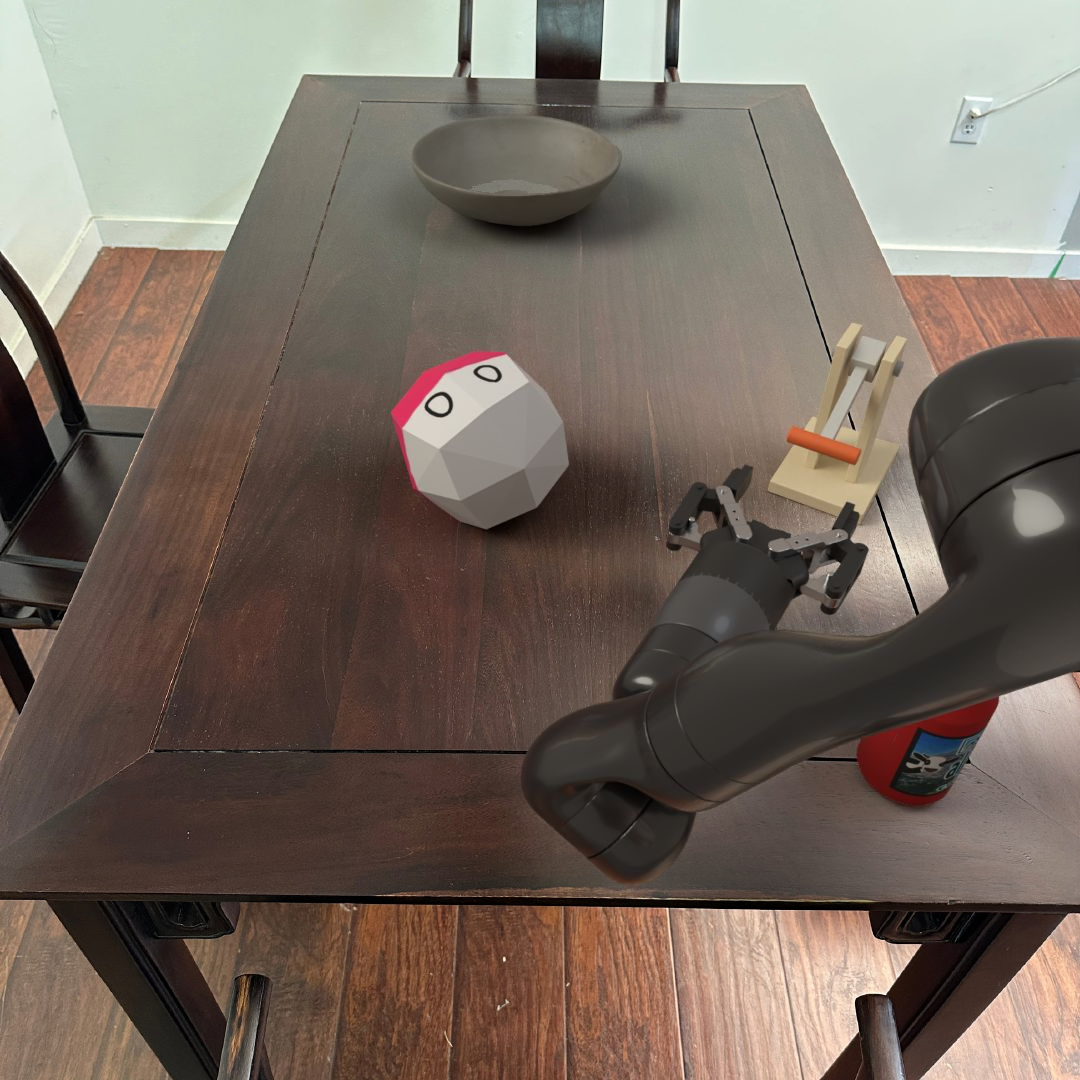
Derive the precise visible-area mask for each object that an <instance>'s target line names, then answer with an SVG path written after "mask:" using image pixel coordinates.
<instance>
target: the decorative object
mask: <svg viewBox="0 0 1080 1080" xmlns="http://www.w3.org/2000/svg"><path fill="white" fill-rule="evenodd" d="M390 414H391V417H392V421H393V425H394V427H395V428H394V429H395V431H396V434H397V438H398V441H399V445H400V449H401V451H402V454H403V459H404V461H405V465H406V469H407V472H408V475H409V478H410V482H411V486H412V489H413V490H414V491H415V492H417V493H418V494H419V495H421V496H422V497H423V498H425V499H426V500H428V501H429V502H431V503H432V504H433V505H435V506H436V507H437V508H439V509H440V510H442V511H443V512H444V513H446V514H448V515H449V516H450V517H451V518H453V519H454V520H456V521H457V522H460V523H463V524H468V525H471V526H474V527H477V528H480V529H484V530H488V529H490V528H492V527H495V526H498V525H500V524H502V523H504V522H507V521H509V520H512V519H514V518H516V517H518V516H521V515H523V514H525V513H528V512H530V511H532V510H536V509H537V508H538V507H539V505H540V504H541V503H542V502H543V500H545V498H546V496H547V495H548V494H549V493H550V491H551V490H552V488H553V487H554V486H555V485H556V483H557V482H558V480H559V479H560V478H561V477H562V475H563V474H564V472H565V471H566V470H567V469H568V468H569V466H570V463H569V461H570V460H569V454H568V448H567V440H566V439H567V438H566V433H565V426H564V421H563V419H562V418H561V415H560V414H559V412H558V410H557V408H556V407H555V405H554V403H553V401H552V399H551V397H550V396H549V394H548V392H547V391H546V389H544V387H543V386H542V385H541V384H539V383H538V382H537V381H536V380H535V379H534V378H533V376H531V375H530V374H529V373H528V372H527V371H526V370H524V368H523V367H522V366H520V365H519V364H518V363H517V362H516V361H515V360H514V359H513V358H512V357H511V356H510V355H509V354H508V353H507V352H506V351H486V350H485V351H483V350H481V351H480V350H475V351H471V352H469V353H467V354H464V355H462V356H459V357H457V358H454V359H451V360H449V361H446V362H444V363H440V364H439V365H436V366H434V367H431V368H429V369H426V370H424V371H423V372H422V373H421V375H419V377H418V378H417V379H416V381H415V382H414V383H413V384H412V386H411V387H410V388H409V389H408V390H407V392H406V393H405V394H404V395H403V397H402V398H401V399H400V400H399V402H398V403H397V404H396V405H395V407H394V408H393V409H392V410H391V411H390Z"/></svg>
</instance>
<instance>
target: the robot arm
mask: <svg viewBox="0 0 1080 1080" xmlns="http://www.w3.org/2000/svg"><path fill="white" fill-rule="evenodd" d="M915 401H916V402H915V403H914V405H913V408H912V410H911V414H910V418H909V421H908V422H909V423H908V427H907V445H908V446H907V448H908V455H909V457H908V458H909V464H910V468H911V472H912V476H913V480H914V483H915V487H916V491H917V494H918V498H919V500H920V505H921V509H922V512H923V514H924V518H925V520H926V524H927V527H928V530H929V533H930V536H931V540H932V542H933V546H934V549H935V552H936V555H937V558H938V562H939V565H940V567H941V571H942V574H943V577H944V579H945V582H946V585H947V587H948V588H947V590H946V591H945V592H944V594H942V595H941V596H940V597H939V598H938V599H937V600H935V601H934V602H933V603H932V604H931V605H929V606H928V607H927V608H925V609H924V610H922V611H921V612H920V613H918V614H917V615H915V616H914V617H912V618H911V619H909V620H908V621H906V622H904V623H903V624H901V625H899V626H897V627H895V628H892V629H890V630H887V631H883V632H880V633H875V634H869V635H867V634H866V635H844V634H843V635H842V634H831V633H821V632H814V631H804V630H791V629H776V628H777V626H778V624H779V623H780V621H781V620H782V618H783V616H784V614H785V612H786V611H787V609H788V607H789V605H790V603H791V602H792V601H793V600H794V599H796V598H798V597H800V596H802V595H804V596H806V597H807V598H810V599H813V600H814V601H817V602H819V603H820V606H819V609H820V611H821V612H822V613H823V614H825V615H827V616H834V615H835V614H836V613H837V612H838V610H839V609H840V607H841V606H842V604H843V602H844V601H845V599H846V598H847V596H848V594H849V593H850V591H851V589H852V588H853V587H854V585H855V583H856V582H857V580H858V578H859V577H860V575H861V573H862V571H863V568H864V565H865V563H866V560H867V557H868V554H869V550H870V549H869V546H868V545H866V544H865V543H862V542H853V541H852V537H853V535H854V533H855V532H856V529H857V526H858V524H857V523H858V520H859V512H856V511H854V508H855V504H853V503H850V502H846V503H845V505H844V507H843V509H842V510H841V512H840V514H839V516H838V517H836V519H835V521H834V523H833V525H832V527H831V529H830V530H827V531H825V532H821V533H817V532H816V531H809V532H806V533H802V534H798V535H795V536H792V533H790V532H787V531H784V530H783V529H777V528H772V527H770V526H768V525H767V524H765V523H764V522H760V521H759V520H757V519H752V520H751V521H749V520H746V518H745V515H744V512H743V510H742V507H741V504H740V503H739V502H740V501H741V499H742V497H743V496H744V495H745V494H746V492H747V491H748V489H749V488H750V485H751V482H752V477H753V473H754V469H755V468H754V466H752V465H749V464H747V463H746V464H744V465H743V466H742V468H739V467H735V468H734V469H732V470H731V472H729V474H728V476H727V477H726V479H725V480H724V482H723V483H722V484H721V485H719V486H716V488H709V487H708V486H707V484H706V483H704V482H701V481H695V482H694V483H693V484H691V486H690V487H689V490H688V491H687V493H686V494H685V496H684V498H683V499H682V500H681V502H680V503H679V505H678V507H677V508H676V509H675V511H674V514H672V517H671V518H670V520H669V523H668V529H667V534H666V543H665V547H666V548H667V549H668V550H669V551H673V552H678V551H681V549H682V548H683V547H685V548H687V549H689V550H693V551H696V552H697V553H696V555H695V557H694V558H693V560H692V561H691V562H690V564H689V565H688V566H687V568H686V569H685V571H684V572H683V574H682V575H681V577H680V578H679V580H678V581H677V583H676V584H675V585H674V587H673V589H672V590H671V591H670V593H668V596H667V597H666V599H665V600H664V601H663V603H662V604H661V606H660V607H659V609H658V611H657V613H656V614H655V616H654V618H653V620H652V622H651V625H650V627H649V629H648V630H647V632H646V634H645V636H643V638H642V640H641V641H640V642H639V644H638V645H637V647H636V648H635V650H634V651H633V652H632V654H631V656H630V657H629V659H628V660H627V662H626V663H625V664H624V666H623V667H622V669H621V670H620V672H619V673H618V675H617V677H616V679H615V681H614V684H613V686H612V691H611V696H612V697H611V700H608V701H607V700H606V701H603V702H599V703H595V704H590V705H588V706H586V707H583V708H580V709H579V708H578V709H576V710H574V711H572V712H570V713H568V714H566V715H564V716H562V717H560V718H558V719H557V720H556V721H554V722H553V723H551V724H550V725H548V727H546V728H545V729H544V730H543V731H542V732H541V733H540V734H539V735H538V736H537V737H536V738H535V739H534V740H533V742H532V743H531V744H530V746H529V747H528V749H527V751H526V754H525V755H524V758H523V761H522V764H521V770H520V786H521V791H522V794H523V796H524V799H525V801H526V802H527V804H528V806H529V807H530V808H531V809H532V810H533V812H534V813H535V814H536V815H537V816H538V817H540V819H542V820H543V821H544V822H545V823H546V824H547V825H548V826H550V827H551V828H553V830H554V831H556V832H557V834H559V835H560V836H561V837H562V838H563V839H565V840H566V841H567V842H568V843H569V844H570V845H571V846H572V847H573V848H574V849H576V851H578V852H579V854H581V855H582V856H583V857H585V859H587V861H588V862H590V863H591V865H593V866H594V867H596V869H598V870H599V872H601V873H602V874H603V875H605V876H606V877H607V878H609V879H610V880H612V881H613V882H615V883H618V884H621V885H624V886H638V885H639V886H640V885H642V884H646V883H648V882H651V881H653V880H655V879H656V878H658V877H660V876H661V875H663V874H664V873H665V872H666V871H667V870H668V869H669V868H670V867H671V866H672V865H673V864H674V863H675V862H676V860H677V859H678V858H679V856H680V855H681V853H682V852H683V850H684V848H685V846H686V845H687V843H688V840H689V838H690V835H691V833H692V830H693V828H694V825H695V821H696V817H697V813H701V812H702V813H703V812H706V811H709V810H712V809H715V808H717V807H719V806H721V805H723V804H725V803H727V802H729V801H731V800H732V799H734V798H736V797H738V796H740V795H742V794H745V792H748V791H749V790H752V789H753V788H755V787H757V786H759V785H761V784H762V783H765V782H767V781H769V780H770V779H772V778H775V777H776V776H777V775H780V774H781V773H784V772H785V771H787V770H789V769H791V768H792V767H795V766H796V765H799V764H801V763H804V762H805V761H808V760H809V759H811V758H814V757H816V756H818V755H821V754H823V753H826V752H828V751H831V750H833V749H836V748H839V747H842V746H845V745H848V744H851V743H853V742H857V741H860V739H863V738H866V737H870V736H873V735H876V734H879V733H883V732H886V731H889V730H892V729H896V728H899V727H902V726H906V725H909V724H913V723H916V722H919V721H923V720H926V719H930V718H933V717H936V716H940V715H943V714H946V713H949V712H952V711H956V710H959V709H962V708H965V707H969V706H972V705H975V704H978V703H981V702H984V701H987V700H989V699H992V698H995V697H998V696H999V697H1001V696H1005V695H1007V694H1011V693H1013V692H1017V691H1019V690H1023V689H1026V688H1028V687H1032V686H1035V685H1038V684H1041V683H1044V682H1048V681H1050V680H1053V679H1057V678H1059V677H1063V676H1065V675H1068V674H1071V673H1075V672H1077V671H1080V336H1050V337H1049V336H1045V337H1035V338H1030V339H1023V340H1016V341H1009V342H1007V343H1003V344H1000V345H996V346H994V347H993V346H992V347H990V348H986V349H983V350H980V351H978V352H976V353H974V354H972V355H969V356H967V357H965V358H962V359H960V360H958V361H957V362H956V363H954V364H952V365H951V366H950V367H948V368H946V369H945V370H943V371H942V372H941V373H939V374H938V375H937V376H936V377H935V378H934V379H933V380H932V381H931V382H930V383H929V384H928V385H927V386H926V387H925V388H924V389H923V390H922V392H921V394H920V395H919V396H918V398H917V400H915ZM703 512H706V513H707V512H708V513H711V515H712V518H713V521H714V523H715V526H716V529H715V528H714V529H712V530H709V531H706V532H704V533H703V534H701V533H700V532H699V524H698V523H697V522H698V520H699V519H700V518H701V516H702V514H703ZM791 536H792V537H791ZM836 563H839V566H838V567H837V568H836V570H835V571H834V572H833V571H831V570H829V571H827V572H826V574H823V575H821V576H820V577H819V578H811V577H810V575H812V574H814V573H815V572H817V570H819V569H820V568H822V567H825V566H829V565H832V564H836Z"/></svg>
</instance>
